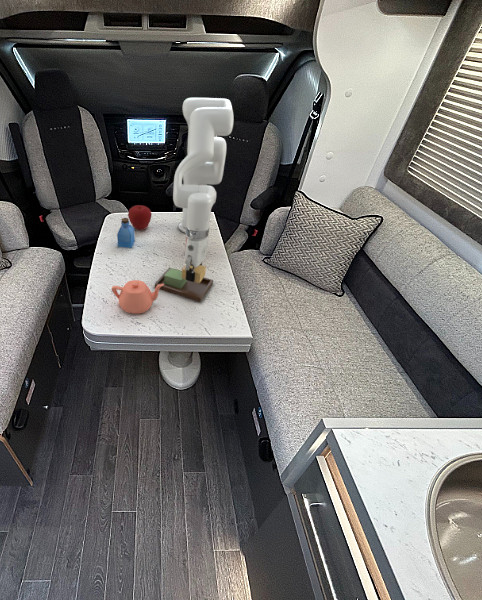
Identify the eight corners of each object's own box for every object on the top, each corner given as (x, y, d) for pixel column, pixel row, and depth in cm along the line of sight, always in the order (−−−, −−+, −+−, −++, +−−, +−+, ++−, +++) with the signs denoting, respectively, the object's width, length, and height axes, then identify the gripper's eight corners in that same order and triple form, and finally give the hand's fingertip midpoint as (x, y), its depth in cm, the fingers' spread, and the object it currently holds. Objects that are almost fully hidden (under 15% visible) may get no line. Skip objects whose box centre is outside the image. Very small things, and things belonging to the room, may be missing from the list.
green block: (170, 276, 134) (170, 267, 131) (186, 281, 131) (187, 272, 129) (164, 283, 130) (164, 275, 127) (180, 289, 127) (181, 280, 125)
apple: (155, 226, 167) (155, 203, 160) (144, 235, 160) (144, 212, 153) (136, 221, 171) (135, 199, 164) (124, 230, 164) (123, 207, 157)
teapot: (115, 293, 126) (113, 272, 120) (163, 294, 126) (164, 273, 120) (111, 315, 116) (108, 293, 110) (163, 316, 116) (164, 294, 110)
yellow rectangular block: (187, 270, 128) (188, 261, 125) (205, 275, 125) (206, 266, 123) (181, 278, 124) (182, 269, 122) (199, 283, 122) (200, 274, 119)
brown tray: (169, 271, 137) (169, 267, 136) (212, 284, 131) (213, 279, 129) (154, 288, 128) (154, 283, 127) (200, 302, 122) (200, 298, 121)
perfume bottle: (131, 248, 151) (130, 223, 144) (118, 246, 152) (116, 222, 144) (134, 241, 156) (133, 216, 148) (121, 240, 157) (119, 215, 149)
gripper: (198, 245, 106) (193, 291, 117) (216, 223, 118) (211, 267, 129) (176, 239, 109) (174, 285, 120) (196, 219, 121) (193, 262, 132)
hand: (193, 275), depth 124 cm, fingers closed on yellow rectangular block, 5 cm apart
